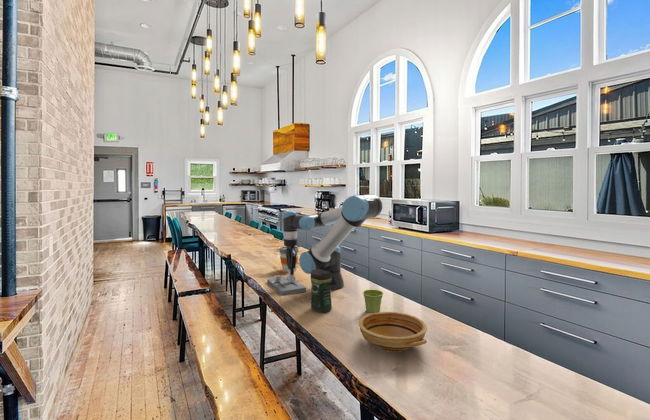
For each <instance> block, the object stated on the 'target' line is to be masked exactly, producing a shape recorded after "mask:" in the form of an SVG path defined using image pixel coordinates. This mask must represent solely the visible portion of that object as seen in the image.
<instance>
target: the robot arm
mask: <svg viewBox="0 0 650 420" xmlns="http://www.w3.org/2000/svg"><path fill="white" fill-rule="evenodd" d="M382 211H383V202H382V199H380V197H379V196H378V195H374V194H373V193H371V194H361V195H360V194H354V195H350V196H349V197H348V196H347V198H346V199H345V200H344V201H343V203H342V205H341V207H337V208H334V209H330V210H327V211H323V212H319V213H315V214H307V215H304V214H303V215H301V214H300V215H299V214H298V212H297V211H296V210H286V211H284V212H283V214H282V215H283V216H282V219H283V233H282V235H283V238H284V239H283V245H284V246H283V247H286V246H287V249H285V252H286V260H287V266H288V269H289V272H288V276H289V277H290V276H295V271H294V268H295V267H296V255H297V252H295V247H297V246H298V239H297V238H298V230H303V231H311V230H312V229H315V228H321V227H322V228H323V227H326V226H328V225H332V224H333V225H332V226H331V228H330V229H329V230H328V231H327V232H326V234H325V235H323V237H322V238H321V239H320V241H319V242H318V243H314V244H313V245H312V246H311V247H310V248H309V249H308V250H307V251H304V252H302V253H301V254H300V255H299V256H298V263H299V267H300V269H301V270H302V271H303V272H304V273H305V274H308V275H311V272H312V270H315V269H321V270H324V271H329V272H330V273H331V284H330V289H331V290H338V289H342V288H343V287H344V286H345V281H344V278H343V275H342V272H341V271H342V269H341V268H342V267H341V266H342V265H341V264H342V263H341V262H342V260H341V259H342V256H341V255H342V253H341V247H340V244H341V243H342V242H344V241H345V239H346V238H347V237H348V236H349V234H350V233H352V231H353V230H354V229H355V228H360V227H361V225H363V223H365V221H366V220H368V219H374V218H376V217H378V216H379V215H380V214H381V213H382ZM294 246H295V247H294Z"/></svg>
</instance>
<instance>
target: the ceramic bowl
mask: <svg viewBox="0 0 650 420" xmlns="http://www.w3.org/2000/svg"><path fill="white" fill-rule="evenodd" d="M358 327H359V330H360V333H361V335H362V337H363V338H364V339H365V340H366V342H368V343H369V344H371V345H373V346H375V347H377V348H379V350H381V351H384V352H388V353H401V352H404V351H406V350H408V349H411V348H412V349H413V348H414V347H420V346H422V345H426V343H427V342H428V341H427V339H426V338H425V335H426V333H427V330H428V326H427V324H426V323H425V321H424V320H422V319H420V318H419V317H416V316H415V315H411V314H407V313H402V312H398V311H397V312H396V311H395V312H394V311H380V312H377V313H365V314H364V315H362V317H361V318H360V319H359V321H358Z"/></svg>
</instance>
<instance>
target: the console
mask: <svg viewBox="0 0 650 420" xmlns="http://www.w3.org/2000/svg"><path fill="white" fill-rule="evenodd" d="M266 283H268V284H269V286H271V288H273V289H274V290H276V292H277V293H278V294H280V295H281V296H284V295H291V294H297V293H298V294H299V293H303V292H307V287H306V286H305V285H303V284H302V283H300V282H299V281H298V280H296V282H294V283H290V282H289V275H287V276H281V282H275V277H272V278H267V279H266Z"/></svg>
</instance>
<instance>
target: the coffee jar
mask: <svg viewBox="0 0 650 420" xmlns="http://www.w3.org/2000/svg"><path fill="white" fill-rule="evenodd" d="M310 283H311V297H310V298H311V299H310V308H311V310H313V311H315V312H318V313H328V312H330V311H331V310H332V295H331V294H332V293H331V291H332V289H330V284H331V273H330V272H329V271H324V270H321V269H315V270H312V272H311V274H310Z"/></svg>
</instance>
